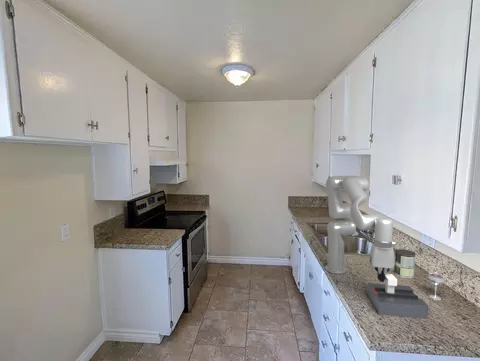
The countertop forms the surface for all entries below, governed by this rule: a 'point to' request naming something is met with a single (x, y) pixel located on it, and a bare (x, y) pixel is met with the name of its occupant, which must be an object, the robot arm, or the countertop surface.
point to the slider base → (397, 301)
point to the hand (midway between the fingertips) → (381, 280)
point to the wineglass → (436, 282)
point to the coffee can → (404, 263)
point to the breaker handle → (390, 283)
